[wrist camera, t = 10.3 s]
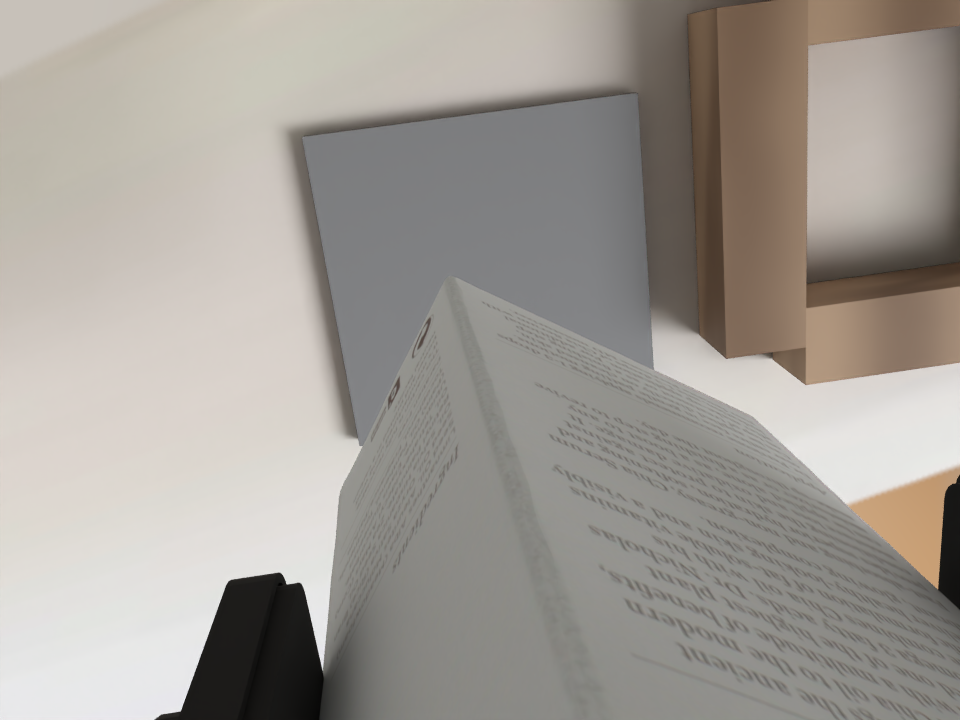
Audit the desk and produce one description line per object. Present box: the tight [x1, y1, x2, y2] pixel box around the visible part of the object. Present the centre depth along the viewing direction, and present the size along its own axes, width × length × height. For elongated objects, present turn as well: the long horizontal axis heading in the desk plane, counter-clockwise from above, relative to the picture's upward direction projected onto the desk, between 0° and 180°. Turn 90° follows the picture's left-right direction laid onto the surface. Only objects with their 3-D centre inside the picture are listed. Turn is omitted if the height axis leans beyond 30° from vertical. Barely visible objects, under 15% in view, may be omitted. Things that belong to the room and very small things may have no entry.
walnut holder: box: [688, 0, 960, 385], centre depth 25 cm, size 12×12×2 cm
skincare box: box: [319, 276, 960, 720], centre depth 8 cm, size 6×4×12 cm
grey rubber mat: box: [302, 93, 654, 446], centre depth 26 cm, size 10×10×1 cm
